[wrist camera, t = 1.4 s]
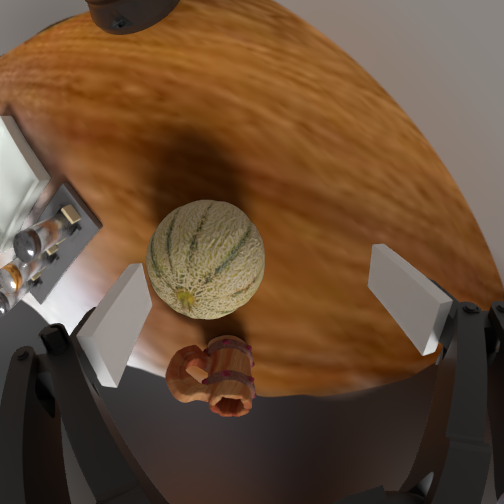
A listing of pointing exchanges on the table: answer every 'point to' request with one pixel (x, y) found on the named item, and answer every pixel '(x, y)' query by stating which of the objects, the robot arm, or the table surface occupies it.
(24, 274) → the marked fuse
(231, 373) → the mug
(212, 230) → the cantaloupe
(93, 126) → the table surface
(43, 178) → the tray
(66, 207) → the fuse holder
